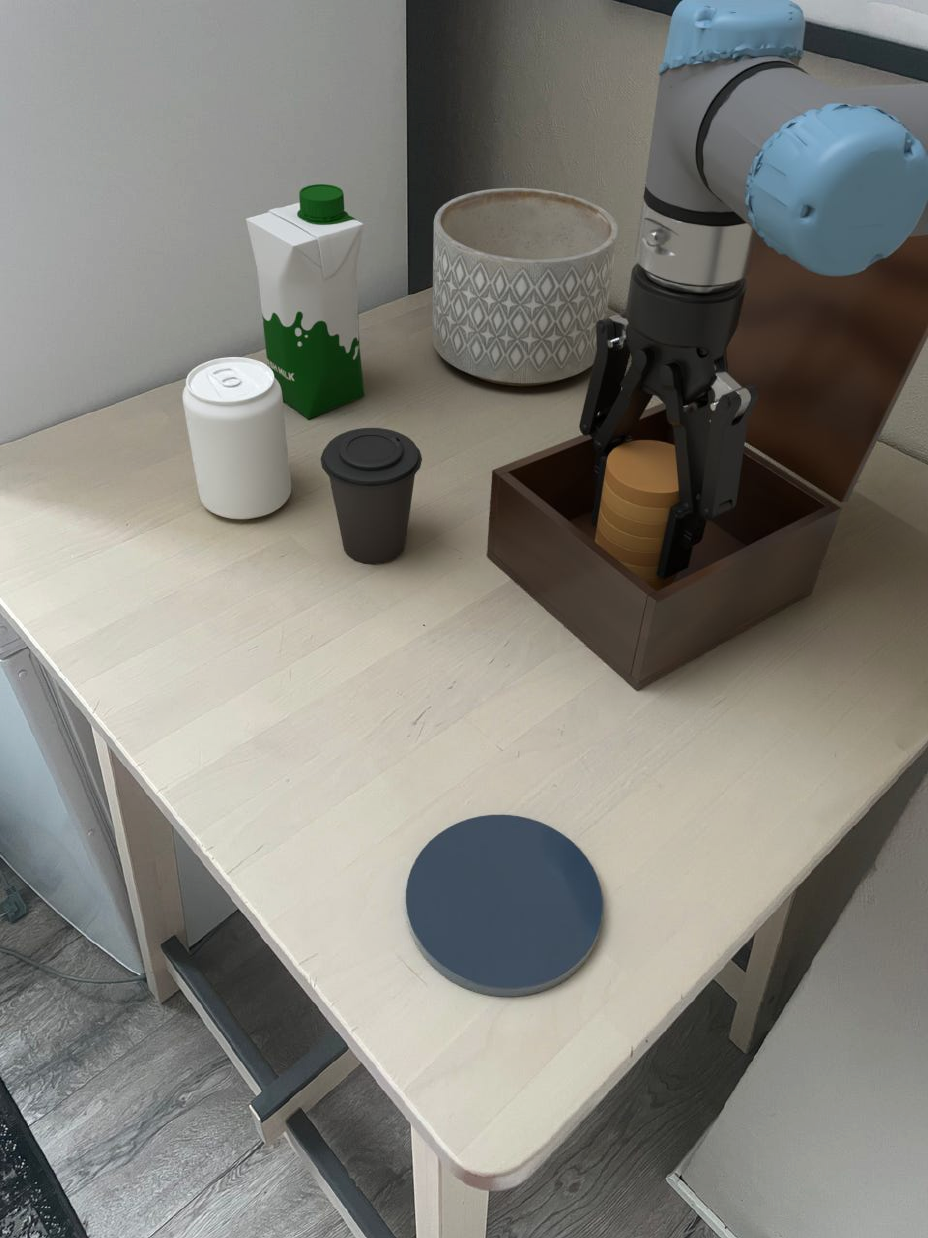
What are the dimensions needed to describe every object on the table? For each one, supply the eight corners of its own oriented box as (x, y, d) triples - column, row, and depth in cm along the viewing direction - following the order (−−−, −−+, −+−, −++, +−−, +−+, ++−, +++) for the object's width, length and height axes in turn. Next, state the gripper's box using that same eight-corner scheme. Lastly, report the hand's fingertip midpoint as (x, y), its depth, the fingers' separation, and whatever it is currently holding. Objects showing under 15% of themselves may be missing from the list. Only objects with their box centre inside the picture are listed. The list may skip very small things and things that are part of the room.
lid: (974, 230, 67) (1010, 231, 70) (757, 143, 78) (797, 147, 81) (841, 503, 79) (877, 493, 82) (669, 394, 90) (707, 389, 93)
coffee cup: (440, 537, 89) (442, 439, 82) (383, 588, 84) (381, 488, 77) (365, 504, 92) (361, 407, 85) (307, 551, 87) (298, 452, 80)
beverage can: (222, 535, 88) (203, 415, 80) (186, 487, 93) (164, 369, 85) (307, 506, 92) (297, 387, 83) (267, 461, 96) (254, 345, 88)
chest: (636, 691, 77) (656, 602, 70) (486, 556, 87) (492, 469, 81) (812, 593, 85) (842, 507, 79) (655, 482, 96) (672, 399, 90)
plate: (641, 926, 62) (644, 918, 62) (483, 1037, 57) (483, 1029, 56) (520, 794, 69) (521, 785, 69) (368, 882, 64) (367, 873, 63)
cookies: (695, 573, 83) (720, 473, 77) (632, 605, 80) (651, 503, 74) (636, 529, 88) (655, 430, 81) (574, 557, 84) (587, 457, 78)
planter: (476, 298, 122) (482, 175, 113) (624, 336, 117) (643, 209, 107) (401, 367, 110) (400, 235, 100) (562, 413, 104) (578, 278, 95)
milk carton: (377, 397, 106) (372, 200, 92) (305, 427, 101) (288, 225, 87) (325, 363, 110) (313, 171, 96) (254, 391, 106) (231, 194, 92)
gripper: (549, 228, 71) (524, 498, 87) (767, 346, 59) (694, 634, 75) (629, 207, 74) (592, 470, 90) (850, 314, 63) (763, 596, 78)
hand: (638, 544), depth 82 cm, fingers closed on cookies, 7 cm apart
